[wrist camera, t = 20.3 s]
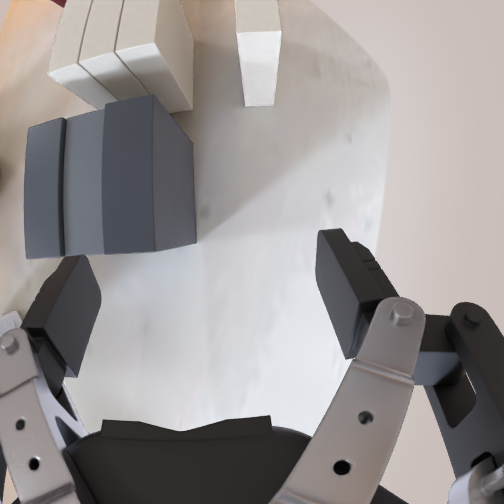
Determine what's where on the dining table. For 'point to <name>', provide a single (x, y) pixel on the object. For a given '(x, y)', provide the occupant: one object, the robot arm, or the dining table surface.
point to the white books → (125, 52)
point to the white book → (258, 49)
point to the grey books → (109, 183)
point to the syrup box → (9, 322)
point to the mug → (60, 2)
